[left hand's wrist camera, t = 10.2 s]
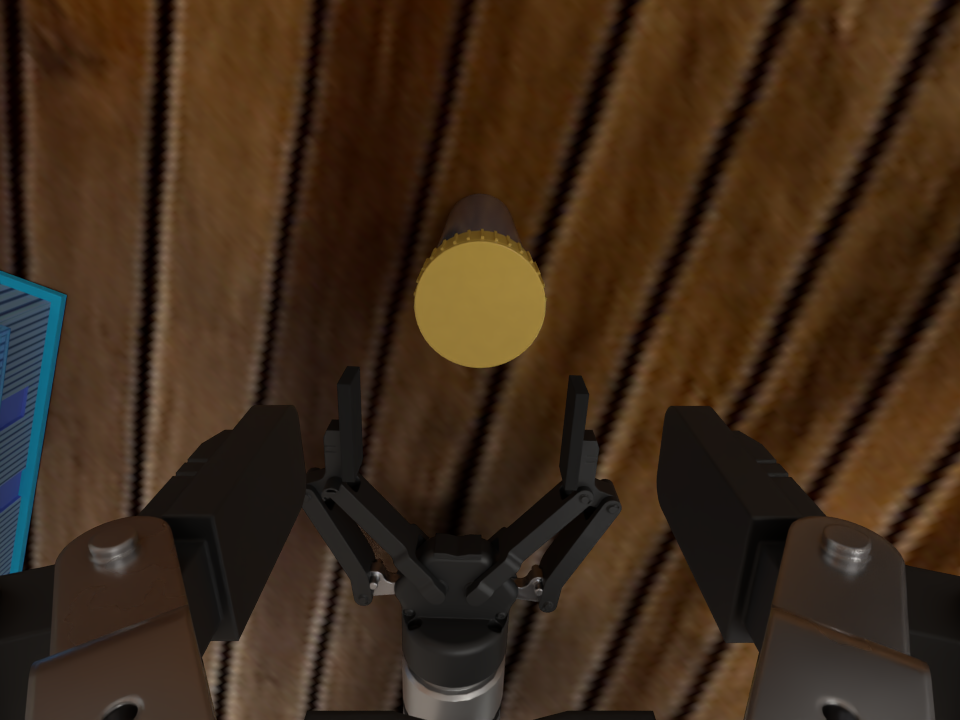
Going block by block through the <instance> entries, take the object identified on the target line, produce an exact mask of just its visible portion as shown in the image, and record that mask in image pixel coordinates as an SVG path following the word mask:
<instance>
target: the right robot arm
mask: <svg viewBox="0 0 960 720" xmlns="http://www.w3.org/2000/svg"><path fill="white" fill-rule="evenodd" d="M337 391H338V410H339V420H331V422H330V424H329V426H328V428H327V430H326V433H325V435H324V451H325V452H324V454H325V468H323V469H319V468H311V469H310V470H308V472H307V474H306V492H305V498H304V502H303V505H302V508H303V509H304V511H305V512H306V514H307V515H308V517H309V518H310V520H311V521H312V523H313V524H314V526H315V527H316V529H317V530H318V532H319V533H320V535H321V536H322V538H323V539H324V541H325V542H326V544H327V545H328V547H329V548H330V550H331V551H332V553H333V554H334V556H335V557H336V559H337V560H338V562H339V563H340V565H341V566H342V568H343V569H344V571H345V572H346V574H347V575H348V577H349V578H350V580H351V585H352V590H353V595H354V600H355V602H356V603H357V604H359V605H361V606H366V605H369V604H370V603H371V602H372V598H373V595H389V594H395V595H396V597H397V598H398V600H399V601H400V603H401V606H402V650H403V655H402V676H403V706H404V707H403V714H406V715H410V716H414V717H418V718H422V719H425V720H500V708H501V700H502V695H503V682H504V668H505V652H506V644H507V632H508V620H509V610H510V607H511V606H512V604H513V603H514V602H515V601H516V599H522V600H530V601H538V602H539V608H540V610H542V611H543V612H552V611H554V610H555V609H556V607H557V603H558V600H559V596H560V592H561V589H562V587H563V585H564V584H565V583H566V582H567V580H568V579H569V578H570V576H571V575H572V574H573V572H574V571H575V570H576V569H577V567H578V566H579V565H580V563H581V562H582V561H583V560H584V558H585V557H586V556H587V554H588V553H589V552H590V551H591V549H592V548H593V547H594V545H595V544H596V543H597V542H598V540H599V539H600V538H601V536H602V535H603V534H604V532H605V531H606V530H607V529H608V527H609V526H610V525H611V523H612V522H613V521H614V520H615V518H616V517H617V516H618V514H619V513H620V511H621V504H620V501H619V499H618V496H617V493H616V491H615V488H614V485H613V483H612V482H611V481H610V480H608V479H602V480H598V479H596V478H595V474H596V467H597V460H598V452H599V447H598V444H597V441H596V438H595V435H594V433H593V430H585V423H586V415H587V407H588V399H589V393H588V390H587V388H586V386H585V383H584V381H583V378H582V376H576V375H569V382H568V391H567V400H566V409H565V418H564V427H563V437H562V446H561V455H560V464H559V467H560V472H561V476H562V481H561V482H560V483H559V484H557V485H556V486H555V487H554V488H553V489H552V490H551V491H549V492H548V493H547V494H546V495H545V496H544V497H543V498H541V499H540V500H539V501H538V502H537V503H536V504H535V505H533V506H532V507H531V508H530V509H529V510H528V511H526V512H525V513H524V514H523V515H522V516H521V517H520V518H518V519H517V520H516V521H515V522H514V523H513V524H512V525H510V526H509V527H508V528H505V527H503V528H501V529H500V530H499V531H498V532H497V533H496V534H495V535H493V536H492V537H491V538H490V539H489V540H488V541H487V540H485V539H482V538H481V535H471V534H470V535H464V536H454V535H450V534H443V533H436V537H432V538H429V537H428V536H427V535H426V534H425V533H424V532H423V531H422V530H421V529H420V528H419V527H418V526H417V525H415V524H409V523H408V522H407V521H406V520H405V519H404V518H403V517H402V516H401V515H400V514H399V513H398V512H397V511H396V510H395V509H394V508H393V507H392V506H391V505H390V503H389V502H388V501H387V500H386V499H385V498H384V497H383V496H382V495H381V494H380V493H379V492H378V491H377V490H376V489H375V488H374V487H373V486H372V485H371V484H370V483H369V482H368V481H367V480H366V479H365V478H364V477H363V476H362V475H361V474H360V473H359V472H358V471H359V468H360V465H361V463H362V460H363V447H362V419H361V391H360V367H355V366H347V368H346V369H345V371H344V373H343V375H342V377H341V378H340V380H339V382H338V384H337ZM356 523H357V524H358V525H359V526H360V527H361V528H362V529H363V530H364V531H365V532H366V533H368V534H369V535H370V536H371V537H372V538H373V539H374V540H375V541H376V542H377V543H378V544H379V545H380V546H381V547H382V548H383V549H384V550H385V551H386V552H387V553H388V554H389V555H390V556H391V557H392V559H393V562H394V565H395V567H396V568H397V569H398V572H397V574H395V573H390V572H388V571H387V570H386V568H385V566H384V565H383V561H382V560H381V559H375V555H374V552H373V550H372V548H371V546H370V544H369V542H368V541H367V539H366V538H365V536H364V535H363V533H362V531H361V530H360V528H359V527H358V525H357V524H356ZM563 527H564V528H563ZM562 528H563V529H562ZM561 529H562V530H561ZM560 530H561V532H560V533H559V534H558V536H557V537H556V539H555V540H554V541H553V543H552V544H551V545H550V547H549V548H548V549H547V551H546V552H545V554H544V555H543V557H542V559H541V562H540V565H533V566H532V570H531V571H530V572H529V573H528V575H527V576H526V577H524V578H517V576H516V573H517V572H518V570H519V569H520V567H521V564H522V562H523V561H524V560H525V559H526V558H528V557H529V556H530V555H531V554H532V553H534V552H535V551H536V550H537V549H538V548H540V547H541V546H542V545H543V544H544V543H546V542H547V541H548V540H549V539H550V538H551V537H553V536H554V535H555V534H556V533H557V532H559V531H560Z"/></svg>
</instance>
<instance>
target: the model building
mask: <svg viewBox="0 0 960 720" xmlns="http://www.w3.org/2000/svg"><path fill="white" fill-rule="evenodd" d="M66 297H67V295H65V294H63V293H60V292H57V291H54V290H52V289H49V288H46V287H44V286H41V285H38V284H35V283H33V282H30V281H27V280H24V279H22V278H19V277H16V276H14V275H11V274H8V273H5V272H3V271H0V576H1V575H6V574H11V573H16V572H21V571H22V569H23V563H24V557H25V551H26V544H27V538H28V532H29V526H30V520H31V514H32V507H33V501H34V495H35V489H36V483H37V477H38V470H39V464H40V458H41V452H42V446H43V439H44V433H45V427H46V421H47V415H48V409H49V402H50V396H51V390H52V384H53V378H54V372H55V365H56V359H57V353H58V347H59V341H60V335H61V328H62V322H63V316H64V310H65V304H66Z"/></svg>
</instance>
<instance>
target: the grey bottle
mask: <svg viewBox="0 0 960 720" xmlns="http://www.w3.org/2000/svg"><path fill="white" fill-rule="evenodd" d="M481 229H484V231H490V232H494V231H497V233H498V234H501V235H504V236H507V235H508V236H510V239H512V240H513V241H515V242H516V243H518V242H519V243H520V244H521V246H522V243H521V241H520V238H519V235H518V233H517V230H516V227H515V224H514V222H513V219H512V216H511V214H510V212H509V210H508V209H507V207H506V206H505V205H504V204H503V203H502V202H501V201H500V200H498V199H497V198H495V197H493V196H490V195H486V194H474V195H470V196H467V197H465V198H463V199H462V200H460V201H459V202H458V203H457V204H456V205H455V206H454V207H453V208H452V210H451V212H450V214H449V216H448V219H447V222H446V224H445V227H444V230H443V233H442V235H441V238H440V241H439V243H438V246H437V248H438V247H439V246H440V245H441V244H442V243H443V240H445V239H446V241H447V240H448V239H450V238H452V237H454V235H455V234H456V233H458V235H459V234H462V233H465V232H467V231H468V230H470V231H481ZM522 248H523V246H522Z"/></svg>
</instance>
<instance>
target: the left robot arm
mask: <svg viewBox="0 0 960 720" xmlns="http://www.w3.org/2000/svg"><path fill="white" fill-rule="evenodd" d="M305 492H306V471H305V463H304V455H303V448H302V440H301V432H300V425H299V417H298V413H297V410H296V408H295V407H294V406H293V405H254V406H252V407H251V408H250V409H249V411H248V412H247V413H246V414H245V416H244V417H243V418H242V419H241V420H240V422H239V423H238V424H237V425H236V426H235V428H234V429H233V430H224V431H222V432H220V433H219V434H217V435H215V436H214V437H212V438H210V439H209V440H207V441H205V442H204V443H202V444H201V445H200V446H199V447H198V448H197V450H196V451H195V452H194V453H193V454H192V455H191V456H190V457H189V459H188V462H187V463H184V464H183V465H182V466H181V468H180V469H179V470H178V471H177V472H176V476H172V478H171V479H170V480H169V481H168V482H167V483H166V484H165V485H164V487H163V488H162V489H161V490H160V491H159V492H158V493H157V494H156V496H155V497H154V498H153V499H152V500H151V501H150V502H149V503H148V505H147V506H146V507H145V508H144V509H143V510H142V511H141V512H140V514H139V515H138V516H134V517H127V518H122V519H118V520H114V521H111V522H108V523H105V524H102V525H100V526H97V527H95V528H93V529H91V530H89V531H87V532H85V533H84V534H82V535H80V536H79V537H77V538H76V539H75V540H73V541H72V542H71V543H69V544H68V545H67V546H66V547H65V548H64V549H63V551H62V552H61V553H60V554H59V556H58V558H57V560H56V564H55V565H50V566H46V567H41V568H36V569H31V570H26V571H21V572H16V573H11V574H6V575H1V576H0V720H216V715H215V711H214V707H213V702H212V698H211V694H210V689H209V685H208V681H207V676H206V672H205V668H204V664H203V660H202V656H203V654H204V653H205V651H206V649H207V647H208V645H209V643H210V641H239V639H240V637H241V635H242V632H243V630H244V628H245V626H246V624H247V622H248V620H249V618H250V616H251V613H252V611H253V609H254V607H255V605H256V603H257V601H258V599H259V597H260V594H261V592H262V590H263V588H264V586H265V584H266V582H267V580H268V578H269V575H270V573H271V571H272V569H273V567H274V565H275V563H276V561H277V559H278V556H279V554H280V552H281V550H282V548H283V546H284V544H285V542H286V540H287V537H288V535H289V533H290V531H291V529H292V527H293V525H294V523H295V521H296V518H297V516H298V514H299V512H300V510H301V508H302V505H303V502H304V498H305ZM657 493H658V499H659V503H660V506H661V509H662V511H663V513H664V515H665V517H666V519H667V521H668V523H669V525H670V528H671V530H672V532H673V534H674V536H675V538H676V540H677V542H678V544H679V546H680V548H681V550H682V552H683V555H684V557H685V559H686V561H687V563H688V565H689V567H690V569H691V571H692V573H693V575H694V577H695V580H696V582H697V584H698V586H699V588H700V590H701V592H702V594H703V596H704V598H705V600H706V602H707V605H708V607H709V609H710V611H711V613H712V615H713V617H714V619H715V621H716V623H717V625H718V627H719V630H720V632H721V634H722V636H723V638H724V640H725V642H726V643H754V644H755V645H756V647H757V649H758V651H759V655H758V659H757V664H756V668H755V672H754V676H753V681H752V685H751V689H750V694H749V698H748V702H747V707H746V711H745V715H744V720H960V576H956V575H951V574H946V573H941V572H936V571H931V570H926V569H921V568H916V567H912V566H908V565H905V564H904V560H903V558H902V556H901V554H900V553H899V552H898V551H897V549H896V548H895V547H894V546H893V545H892V544H891V543H889V542H888V541H887V540H885V539H884V538H883V537H881V536H880V535H878V534H876V533H875V532H873V531H871V530H869V529H867V528H865V527H863V526H860V525H858V524H855V523H852V522H849V521H846V520H842V519H838V518H833V517H827V516H826V515H825V514H824V513H823V512H822V511H821V510H820V509H819V507H818V506H817V505H816V504H815V503H814V502H813V501H812V500H811V499H810V497H809V496H808V495H807V494H806V493H805V492H804V491H803V490H802V489H801V487H800V486H799V485H798V484H797V483H796V482H795V481H794V480H793V479H792V477H788V473H787V472H786V471H785V470H784V469H783V467H782V466H781V465H780V464H776V460H775V459H774V457H773V456H772V455H771V454H770V453H769V452H768V451H767V450H766V449H765V447H764V446H763V445H762V444H760V443H759V442H757V441H755V440H754V439H752V438H750V437H748V436H747V435H745V434H743V433H742V432H740V431H731V430H730V429H729V428H728V426H727V425H726V424H725V423H724V422H723V420H722V419H721V418H720V417H719V416H718V415H717V413H716V412H715V411H714V410H713V409H712V408H711V407H710V406H670V407H669V408H668V409H667V411H666V414H665V419H664V426H663V433H662V441H661V449H660V456H659V464H658V471H657ZM304 720H425V719H422V718H418V717H414V716H410V715H406V714H402V713H398V712H395V711H307V713H306V716H305V719H304ZM535 720H656V719H655V716H654V713H653V711H565V712H562V713H558V714H554V715H550V716H546V717H542V718H538V719H535Z"/></svg>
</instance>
